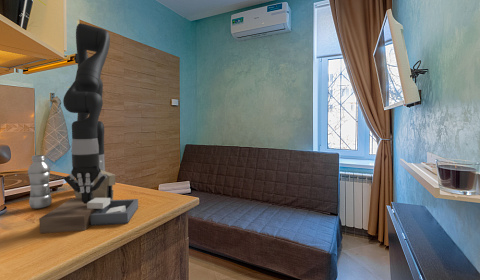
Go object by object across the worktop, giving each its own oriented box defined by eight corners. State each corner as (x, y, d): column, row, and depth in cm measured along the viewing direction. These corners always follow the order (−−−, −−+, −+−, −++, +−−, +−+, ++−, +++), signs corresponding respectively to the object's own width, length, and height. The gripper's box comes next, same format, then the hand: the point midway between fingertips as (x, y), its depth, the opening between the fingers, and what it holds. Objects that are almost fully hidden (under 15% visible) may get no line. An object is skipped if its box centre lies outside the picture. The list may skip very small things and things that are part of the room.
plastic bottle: (38, 204, 91) (35, 154, 90) (56, 204, 92) (53, 154, 90) (24, 210, 85) (21, 157, 83) (43, 210, 85) (40, 157, 84)
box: (107, 209, 87) (106, 200, 87) (138, 207, 89) (138, 198, 89) (90, 225, 74) (90, 215, 73) (127, 223, 76) (127, 213, 75)
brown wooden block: (72, 210, 86) (71, 198, 86) (107, 208, 88) (106, 197, 88) (40, 233, 68) (39, 218, 68) (84, 230, 71) (84, 215, 70)
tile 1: (95, 203, 81) (95, 197, 81) (110, 203, 81) (110, 197, 81) (87, 208, 76) (87, 202, 76) (102, 208, 76) (103, 202, 76)
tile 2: (125, 205, 83) (126, 210, 83) (110, 208, 82) (111, 213, 82) (120, 210, 78) (121, 216, 78) (104, 213, 77) (105, 219, 77)
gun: (72, 197, 100) (73, 163, 98) (80, 195, 103) (81, 162, 101) (107, 213, 89) (108, 175, 87) (115, 210, 92) (116, 174, 90)
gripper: (111, 150, 82) (112, 198, 83) (69, 150, 79) (71, 199, 81) (102, 153, 74) (104, 205, 76) (56, 153, 72) (58, 207, 73)
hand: (87, 202), depth 78 cm, fingers closed
